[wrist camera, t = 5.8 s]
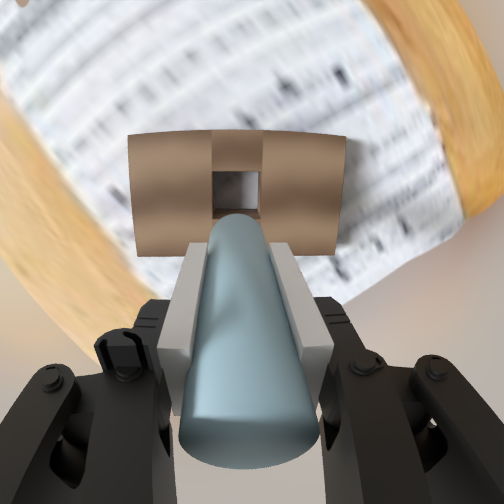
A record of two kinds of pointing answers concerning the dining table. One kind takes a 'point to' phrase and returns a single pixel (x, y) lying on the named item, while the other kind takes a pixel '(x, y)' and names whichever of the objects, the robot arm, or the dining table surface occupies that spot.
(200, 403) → the peg
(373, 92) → the dining table surface
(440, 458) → the robot arm
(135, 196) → the hole block
